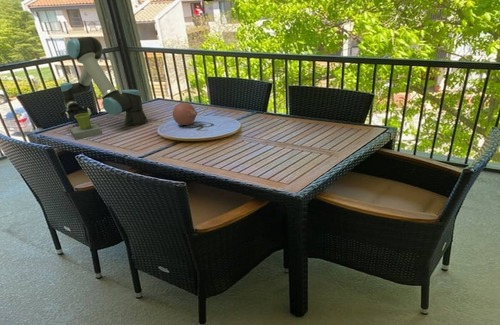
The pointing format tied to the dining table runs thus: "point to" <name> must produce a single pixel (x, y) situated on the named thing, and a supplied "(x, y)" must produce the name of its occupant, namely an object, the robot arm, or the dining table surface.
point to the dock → (85, 131)
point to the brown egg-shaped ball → (184, 114)
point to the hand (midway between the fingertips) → (79, 114)
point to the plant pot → (83, 120)
